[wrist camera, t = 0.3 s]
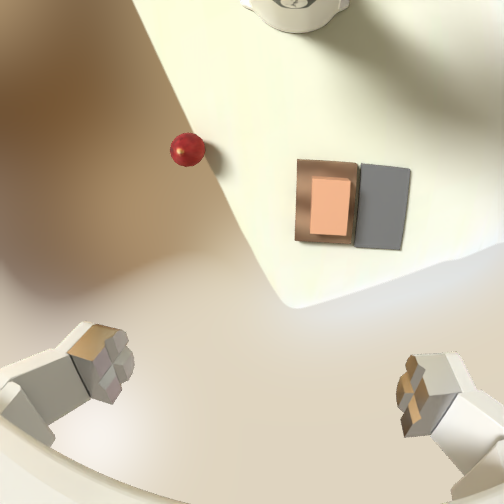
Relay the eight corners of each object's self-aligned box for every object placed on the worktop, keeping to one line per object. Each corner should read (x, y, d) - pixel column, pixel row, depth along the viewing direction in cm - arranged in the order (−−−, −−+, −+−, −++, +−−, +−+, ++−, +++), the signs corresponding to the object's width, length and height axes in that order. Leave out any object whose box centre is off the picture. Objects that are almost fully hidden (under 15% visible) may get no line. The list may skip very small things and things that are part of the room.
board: (297, 159, 49) (297, 160, 47) (355, 162, 47) (357, 164, 46) (294, 236, 54) (294, 240, 53) (349, 239, 53) (350, 243, 51)
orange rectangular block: (312, 175, 48) (312, 178, 45) (347, 178, 47) (350, 181, 44) (309, 227, 51) (310, 233, 48) (343, 229, 50) (346, 235, 48)
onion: (176, 159, 52) (157, 165, 45) (184, 129, 50) (165, 130, 42) (206, 167, 52) (190, 173, 45) (214, 136, 50) (199, 138, 42)
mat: (361, 163, 47) (361, 163, 47) (408, 168, 46) (410, 169, 45) (353, 245, 53) (354, 246, 52) (398, 248, 52) (399, 249, 51)
